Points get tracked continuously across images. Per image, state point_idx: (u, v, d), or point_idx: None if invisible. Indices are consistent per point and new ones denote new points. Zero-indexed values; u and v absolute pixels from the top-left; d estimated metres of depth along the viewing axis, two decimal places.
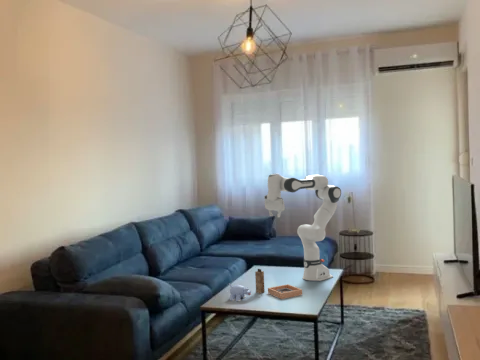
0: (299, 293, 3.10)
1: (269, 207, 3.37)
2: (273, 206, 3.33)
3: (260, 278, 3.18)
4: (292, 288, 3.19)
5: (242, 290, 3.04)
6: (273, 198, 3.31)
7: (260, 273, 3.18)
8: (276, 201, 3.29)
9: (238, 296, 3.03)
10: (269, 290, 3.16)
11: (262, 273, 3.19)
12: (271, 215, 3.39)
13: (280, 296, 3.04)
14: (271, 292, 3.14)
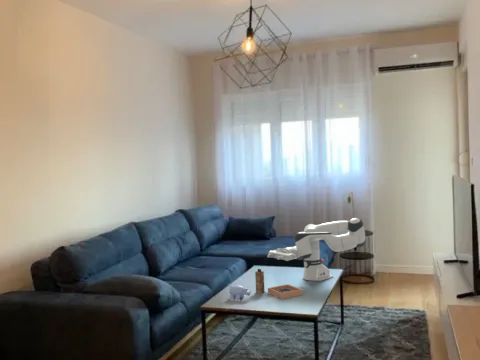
0: (299, 293, 3.10)
1: (276, 252, 3.33)
2: (281, 253, 3.30)
3: (260, 278, 3.18)
4: (292, 288, 3.19)
5: (241, 290, 3.04)
6: (289, 250, 3.32)
7: (260, 273, 3.18)
8: (289, 253, 3.30)
9: (237, 296, 3.03)
10: (269, 290, 3.16)
11: (262, 273, 3.19)
12: (269, 255, 3.30)
13: (280, 296, 3.04)
14: (271, 292, 3.14)
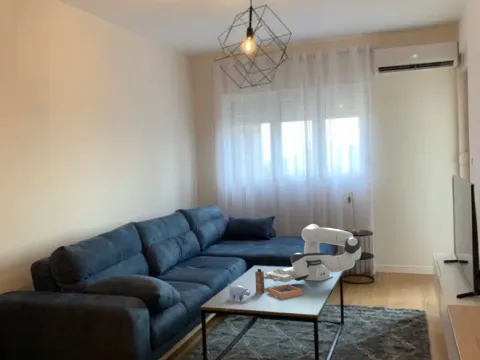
0: (299, 293, 3.10)
1: (272, 273, 3.31)
2: (278, 274, 3.28)
3: (260, 278, 3.18)
4: (292, 288, 3.19)
5: (241, 290, 3.04)
6: (286, 271, 3.30)
7: (260, 273, 3.18)
8: (286, 274, 3.27)
9: (237, 296, 3.03)
10: (269, 290, 3.16)
11: (262, 273, 3.19)
12: (266, 277, 3.28)
13: (280, 296, 3.04)
14: (271, 292, 3.14)
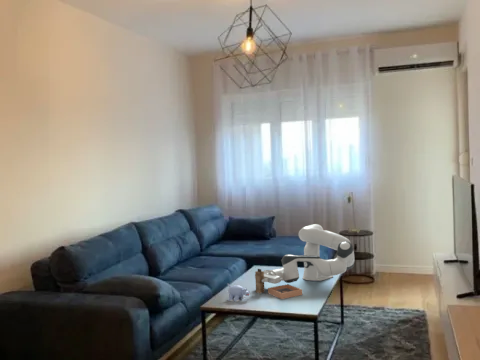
0: (299, 293, 3.10)
1: None
2: (268, 275, 3.23)
3: (260, 278, 3.18)
4: (292, 288, 3.19)
5: (240, 290, 3.03)
6: (276, 273, 3.25)
7: (260, 273, 3.18)
8: (276, 275, 3.22)
9: (236, 296, 3.03)
10: (269, 290, 3.16)
11: (262, 273, 3.19)
12: None
13: (280, 296, 3.04)
14: (271, 292, 3.14)
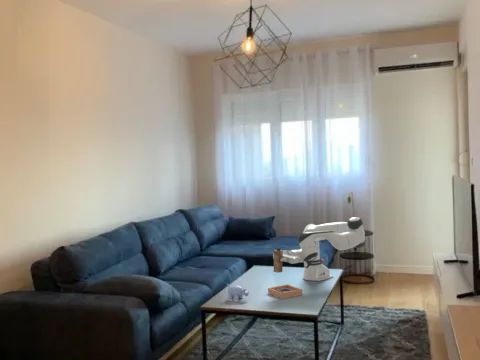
0: (299, 293, 3.10)
1: None
2: (287, 255, 3.17)
3: (278, 257, 3.12)
4: (292, 288, 3.19)
5: (240, 291, 3.03)
6: (295, 253, 3.19)
7: (279, 252, 3.12)
8: (295, 255, 3.16)
9: (236, 297, 3.02)
10: (269, 290, 3.16)
11: (281, 252, 3.13)
12: None
13: (280, 296, 3.04)
14: (271, 292, 3.14)
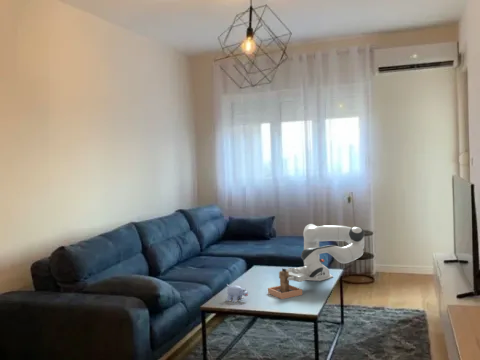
0: (299, 293, 3.10)
1: None
2: (292, 273, 3.17)
3: (285, 278, 3.11)
4: (292, 288, 3.19)
5: (239, 291, 3.03)
6: (301, 271, 3.19)
7: (285, 273, 3.11)
8: (301, 273, 3.16)
9: (235, 297, 3.02)
10: (269, 290, 3.16)
11: (287, 273, 3.12)
12: None
13: (280, 296, 3.04)
14: (271, 292, 3.14)
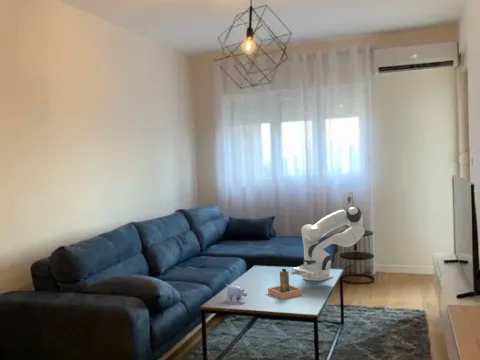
0: (299, 293, 3.10)
1: (300, 269, 3.28)
2: (306, 270, 3.25)
3: (285, 278, 3.11)
4: (292, 288, 3.19)
5: (238, 291, 3.02)
6: (314, 267, 3.27)
7: (285, 273, 3.11)
8: (314, 270, 3.24)
9: (234, 297, 3.02)
10: (269, 290, 3.16)
11: (287, 273, 3.12)
12: (293, 273, 3.25)
13: (280, 296, 3.04)
14: (271, 292, 3.14)
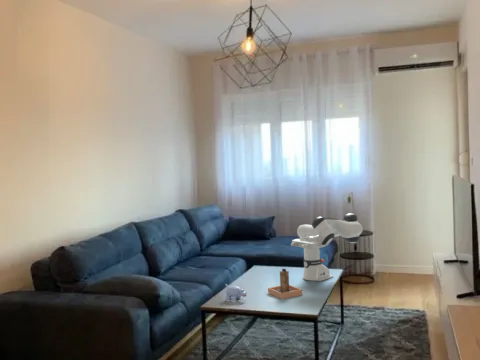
0: (299, 293, 3.10)
1: (299, 241, 3.27)
2: (305, 241, 3.24)
3: (285, 278, 3.11)
4: (292, 288, 3.19)
5: (237, 291, 3.02)
6: (313, 239, 3.26)
7: (285, 273, 3.11)
8: (313, 241, 3.23)
9: (233, 297, 3.01)
10: (269, 290, 3.16)
11: (287, 273, 3.12)
12: (292, 244, 3.24)
13: (280, 296, 3.04)
14: (271, 292, 3.14)
